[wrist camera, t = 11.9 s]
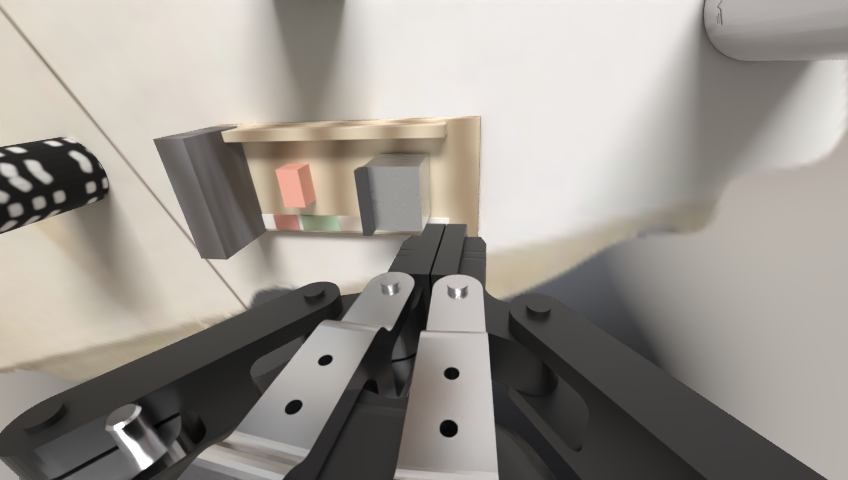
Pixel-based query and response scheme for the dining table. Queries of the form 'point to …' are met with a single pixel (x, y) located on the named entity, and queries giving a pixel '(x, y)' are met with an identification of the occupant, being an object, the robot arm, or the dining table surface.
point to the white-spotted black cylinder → (47, 180)
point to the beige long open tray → (330, 170)
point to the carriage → (394, 192)
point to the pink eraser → (296, 185)
